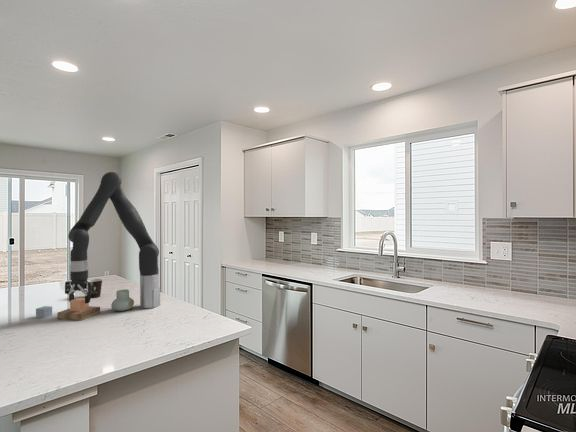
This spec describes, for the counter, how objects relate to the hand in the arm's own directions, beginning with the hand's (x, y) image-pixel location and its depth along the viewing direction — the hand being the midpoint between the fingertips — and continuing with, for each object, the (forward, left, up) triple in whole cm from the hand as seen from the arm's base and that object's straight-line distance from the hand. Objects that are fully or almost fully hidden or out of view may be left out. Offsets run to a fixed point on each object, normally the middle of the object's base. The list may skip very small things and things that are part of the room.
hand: (79, 302), depth 160 cm
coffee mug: (+22, -33, -7) cm, 41 cm away
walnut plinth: (0, 0, -7) cm, 7 cm away
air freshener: (-14, -13, -7) cm, 20 cm away
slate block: (+16, +4, -7) cm, 18 cm away
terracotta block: (0, 0, -4) cm, 4 cm away
